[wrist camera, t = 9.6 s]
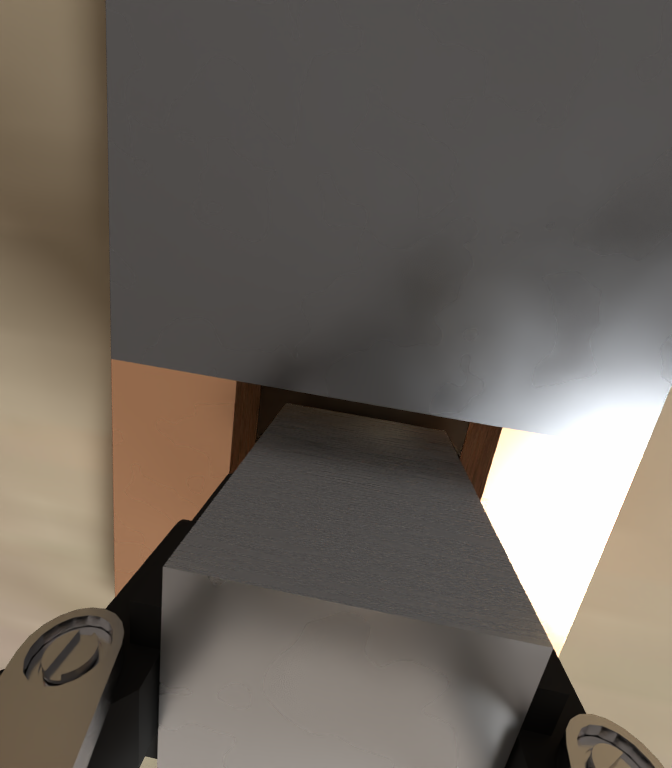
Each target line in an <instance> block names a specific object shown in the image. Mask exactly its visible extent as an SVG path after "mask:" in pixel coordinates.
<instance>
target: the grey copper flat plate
mask: <svg viewBox="0 0 672 768" xmlns="http://www.w3.org/2000/svg"><path fill="white" fill-rule="evenodd" d="M106 52H107V117H108V181H109V245H110V309H111V373H112V437H113V501H114V565H115V597H116V596H117V595H118V593H119V592H120V591H121V590H122V588H123V587H124V586H125V585H126V584H127V582H128V581H129V580H130V579H131V578H132V576H133V575H134V574H135V573H136V572H137V570H138V569H139V568H140V567H141V566H142V564H143V563H144V562H145V561H146V560H147V558H148V557H149V556H150V555H151V554H152V552H153V551H154V550H155V549H156V548H157V546H158V545H159V544H160V543H161V542H162V540H163V539H164V538H165V537H166V536H167V534H168V533H169V532H170V531H171V530H172V528H173V527H174V526H175V525H176V524H177V523H178V522H179V521H180V520H182V519H185V520H190V521H192V520H193V518H194V517H195V516H196V514H197V513H198V512H199V511H200V509H201V508H202V507H203V505H204V504H205V503H206V502H207V500H208V499H209V498H210V496H211V495H212V494H213V493H214V491H215V490H216V489H217V487H218V486H219V485H220V483H221V482H222V481H223V480H224V478H225V477H226V476H227V475H228V474H229V473H232V474H233V473H234V472H235V470H236V469H237V468H238V466H239V465H240V464H241V462H242V461H243V460H244V458H245V457H246V456H247V454H248V453H249V452H250V450H251V449H252V448H253V446H254V445H255V444H256V434H257V424H258V414H259V404H260V394H261V385H263V386H269V387H274V388H280V389H286V390H292V391H297V392H303V393H309V394H314V395H320V396H326V397H331V398H337V399H343V400H349V401H354V402H360V403H366V404H371V405H377V406H383V407H389V408H394V409H400V410H406V411H411V412H417V413H423V414H429V415H434V416H440V417H446V418H451V419H457V420H463V421H468V422H470V423H469V426H468V430H467V434H466V438H465V441H464V445H463V449H462V452H461V456H460V461H461V463H462V465H463V467H464V469H465V471H466V473H467V475H468V477H469V479H470V481H471V483H472V485H473V487H474V489H475V491H476V493H477V495H478V497H479V499H480V501H481V503H482V505H483V507H484V509H485V511H486V513H487V515H488V517H489V520H490V522H491V524H492V526H493V528H494V530H495V532H496V534H497V536H498V538H499V540H500V542H501V544H502V546H503V548H504V550H505V552H506V554H507V556H508V558H509V560H510V562H511V564H512V566H513V568H514V570H515V572H516V574H517V576H518V578H519V580H520V582H521V584H522V586H523V588H524V590H525V592H526V594H527V596H528V598H529V600H530V602H531V604H532V606H533V608H534V610H535V612H536V614H537V616H538V618H539V620H540V622H541V624H542V626H543V628H544V630H545V632H546V634H547V636H548V638H549V640H550V642H551V644H552V646H553V648H554V650H555V652H556V654H557V656H558V657H559V654H560V652H561V649H562V647H563V645H564V642H565V640H566V637H567V635H568V633H569V630H570V628H571V626H572V623H573V621H574V618H575V616H576V614H577V611H578V609H579V606H580V604H581V602H582V599H583V597H584V594H585V592H586V590H587V587H588V585H589V582H590V580H591V578H592V575H593V573H594V570H595V568H596V566H597V563H598V561H599V558H600V556H601V554H602V551H603V549H604V546H605V544H606V542H607V539H608V537H609V534H610V532H611V530H612V527H613V525H614V522H615V520H616V518H617V515H618V513H619V510H620V508H621V506H622V503H623V501H624V498H625V496H626V494H627V491H628V489H629V486H630V484H631V482H632V479H633V477H634V474H635V472H636V470H637V467H638V465H639V462H640V460H641V458H642V455H643V453H644V450H645V448H646V446H647V443H648V441H649V438H650V436H651V434H652V431H653V429H654V426H655V424H656V422H657V419H658V417H659V414H660V412H661V410H662V407H663V405H664V402H665V400H666V398H667V395H668V393H669V391H670V388H671V386H672V0H106Z"/></svg>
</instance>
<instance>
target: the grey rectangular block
mask: <svg viewBox="0 0 672 768" xmlns="http://www.w3.org/2000/svg"><path fill="white" fill-rule="evenodd" d="M552 650H553V646H552V644H551V642H550V640H549V638H548V636H547V634H546V632H545V630H544V628H543V626H542V624H541V622H540V620H539V618H538V616H537V614H536V612H535V610H534V608H533V606H532V604H531V602H530V600H529V598H528V596H527V594H526V592H525V590H524V588H523V586H522V584H521V582H520V580H519V578H518V576H517V574H516V572H515V570H514V568H513V566H512V564H511V562H510V560H509V558H508V556H507V554H506V552H505V550H504V548H503V546H502V544H501V542H500V540H499V538H498V536H497V534H496V532H495V530H494V528H493V526H492V524H491V522H490V520H489V517H488V515H487V513H486V511H485V509H484V507H483V505H482V503H481V501H480V499H479V497H478V495H477V493H476V491H475V489H474V487H473V485H472V483H471V481H470V479H469V477H468V475H467V473H466V471H465V469H464V467H463V465H462V463H461V461H460V459H459V457H458V455H457V453H456V451H455V449H454V447H453V445H452V443H451V441H450V439H449V437H448V435H447V433H446V431H442V430H437V429H431V428H425V427H420V426H414V425H409V424H403V423H397V422H392V421H386V420H381V419H375V418H369V417H364V416H358V415H353V414H347V413H341V412H336V411H330V410H325V409H319V408H313V407H308V406H302V405H297V404H291V403H286V404H285V405H284V407H283V408H282V409H281V411H280V412H279V413H278V415H277V416H276V417H275V418H274V420H273V421H272V422H271V424H270V425H269V426H268V428H267V429H266V430H265V432H264V433H263V434H262V436H261V437H260V438H259V440H258V441H257V442H256V444H255V445H254V446H253V448H252V449H251V450H250V452H249V453H248V454H247V456H246V457H245V458H244V460H243V461H242V462H241V464H240V465H239V466H238V468H237V469H236V470H235V472H234V473H233V474H232V476H231V477H230V478H229V480H228V481H227V482H226V484H225V485H224V486H223V488H222V489H221V490H220V492H219V493H218V494H217V496H216V497H215V498H214V499H213V501H212V502H211V503H210V505H209V506H208V507H207V509H206V510H205V511H204V513H203V514H202V515H201V517H200V518H199V519H198V521H197V522H196V523H195V525H194V526H193V527H192V529H191V530H190V531H189V533H188V534H187V535H186V537H185V538H184V539H183V541H182V542H181V543H180V545H179V546H178V547H177V549H176V550H175V551H174V553H173V554H172V555H171V557H170V558H169V559H168V561H167V562H166V563H165V565H164V566H163V580H162V615H161V650H160V685H159V721H158V756H157V768H505V765H506V763H507V760H508V758H509V755H510V753H511V750H512V748H513V746H514V743H515V741H516V738H517V736H518V733H519V731H520V728H521V726H522V724H523V721H524V719H525V716H526V714H527V711H528V709H529V707H530V704H531V702H532V699H533V697H534V694H535V692H536V689H537V687H538V685H539V682H540V680H541V677H542V675H543V672H544V670H545V668H546V665H547V663H548V660H549V658H550V655H551V653H552Z"/></svg>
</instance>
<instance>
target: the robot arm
mask: <svg viewBox="0 0 672 768" xmlns="http://www.w3.org/2000/svg"><path fill="white" fill-rule="evenodd" d="M231 476H232V473H229V474H228V475H227V476H226V477H225V478H224V480H223V481H222V482H221V483H220V485H219V486H218V487H217V489H216V490H215V491H214V493H213V494H212V495H211V496H210V498H209V499H208V500H207V502H206V503H205V504H204V505H203V507H202V508H201V509H200V511H199V512H198V513H197V514H196V516H195V517H194V518H193V520H192V521H190V520H185V519H182V520H180V521H179V522H178V523H177V524H176V525H175V526H174V527H173V528H172V530H171V531H170V532H169V533H168V534H167V536H166V537H165V538H164V539H163V540H162V542H161V543H160V544H159V545H158V546H157V548H156V549H155V550H154V551H153V552H152V554H151V555H150V556H149V557H148V558H147V560H146V561H145V562H144V563H143V564H142V566H141V567H140V568H139V569H138V570H137V572H136V573H135V574H134V575H133V576H132V578H131V579H130V580H129V581H128V582H127V584H126V585H125V586H124V587H123V588H122V590H121V591H120V592H119V593H118V595H117V596H116V597H115V598H114V599H113V601H112V602H111V603H110V604H109V605H108V607H107V608H106V609H102V608H85V609H78V610H74V611H71V612H68V613H66V614H63V615H60V616H58V617H56V618H55V619H53V620H51V621H49V622H47V623H45V624H44V625H43V626H41V627H40V628H39V629H38V630H36V631H35V632H34V633H33V634H31V635H30V636H29V637H28V638H27V639H26V640H25V642H24V643H23V644H22V645H21V646H20V648H19V649H18V650H17V651H16V653H15V654H14V656H13V657H12V659H11V660H10V662H9V663H8V665H7V666H6V668H5V669H3V670H1V671H0V768H140V765H141V763H142V761H143V759H144V757H145V756H147V757H151V758H155V759H157V756H158V721H159V685H160V650H161V615H162V580H163V566H164V565H165V563H166V562H167V561H168V559H169V558H170V557H171V555H172V554H173V553H174V551H175V550H176V549H177V547H178V546H179V545H180V543H181V542H182V541H183V539H184V538H185V537H186V535H187V534H188V533H189V531H190V530H191V529H192V527H193V526H194V525H195V523H196V522H197V521H198V519H199V518H200V517H201V515H202V514H203V513H204V511H205V510H206V509H207V507H208V506H209V505H210V503H211V502H212V501H213V499H214V498H215V497H216V496H217V494H218V493H219V492H220V490H221V489H222V488H223V486H224V485H225V484H226V482H227V481H228V480H229V478H230V477H231ZM505 768H664V767H663V765H662V764H661V763H660V761H659V760H658V759H657V758H656V757H655V756H654V755H653V754H652V753H651V752H650V751H649V750H648V749H647V748H646V747H645V745H644V744H643V743H642V742H640V741H639V740H638V739H637V738H635V737H634V736H633V735H632V734H630V733H629V732H628V731H626V730H625V729H624V728H622V727H620V726H619V725H617V724H615V723H613V722H612V721H610V720H608V719H606V718H603V717H600V716H597V715H593V714H586V712H585V710H584V708H583V706H582V704H581V702H580V700H579V698H578V696H577V694H576V692H575V690H574V688H573V686H572V684H571V682H570V680H569V678H568V676H567V674H566V672H565V670H564V668H563V666H562V664H561V662H560V660H559V658H558V656H557V654H556V652H555V650H554V648H553V650H552V653H551V655H550V658H549V660H548V663H547V665H546V668H545V670H544V672H543V675H542V677H541V680H540V682H539V685H538V687H537V689H536V692H535V694H534V697H533V699H532V702H531V704H530V707H529V709H528V711H527V714H526V716H525V719H524V721H523V724H522V726H521V728H520V731H519V733H518V736H517V738H516V741H515V743H514V746H513V748H512V750H511V753H510V755H509V758H508V760H507V763H506V765H505Z"/></svg>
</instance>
